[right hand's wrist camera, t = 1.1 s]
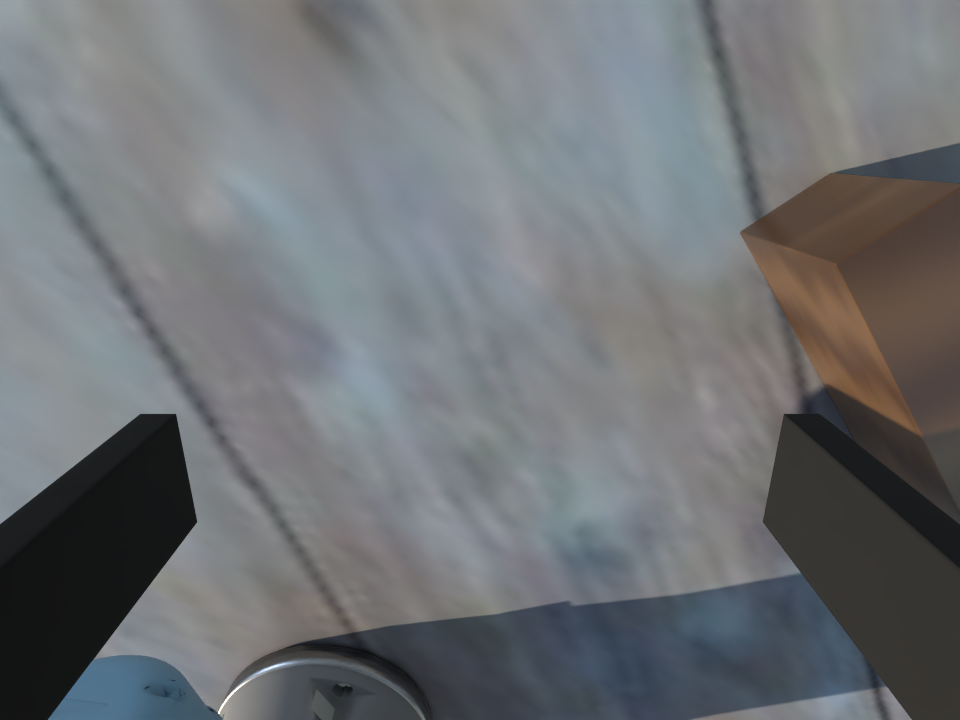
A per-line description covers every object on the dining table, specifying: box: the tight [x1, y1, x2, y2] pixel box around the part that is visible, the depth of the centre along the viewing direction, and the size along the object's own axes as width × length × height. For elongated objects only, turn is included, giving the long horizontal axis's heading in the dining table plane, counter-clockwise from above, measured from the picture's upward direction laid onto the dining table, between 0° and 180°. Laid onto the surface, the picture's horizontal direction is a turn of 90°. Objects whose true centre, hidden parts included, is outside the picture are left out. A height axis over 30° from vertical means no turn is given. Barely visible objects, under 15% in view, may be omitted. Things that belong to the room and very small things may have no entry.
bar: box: [740, 173, 960, 524], centre depth 30 cm, size 25×5×9 cm, turn 35°
